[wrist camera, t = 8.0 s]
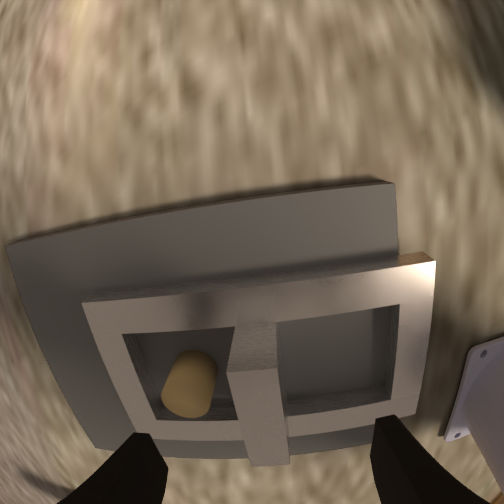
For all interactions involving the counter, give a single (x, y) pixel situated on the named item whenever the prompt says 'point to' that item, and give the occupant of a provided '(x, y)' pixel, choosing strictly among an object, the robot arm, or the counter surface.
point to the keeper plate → (215, 339)
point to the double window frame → (269, 348)
